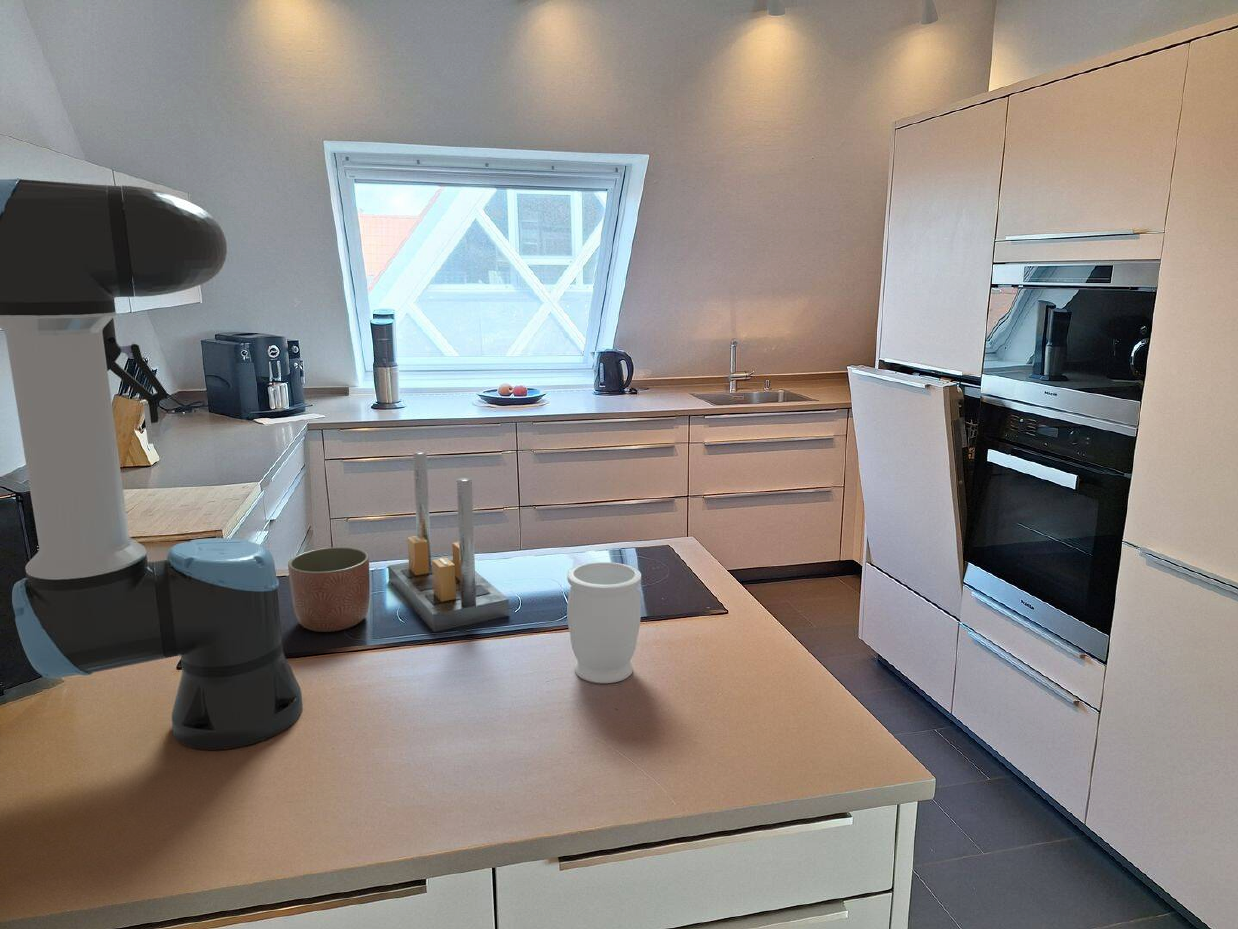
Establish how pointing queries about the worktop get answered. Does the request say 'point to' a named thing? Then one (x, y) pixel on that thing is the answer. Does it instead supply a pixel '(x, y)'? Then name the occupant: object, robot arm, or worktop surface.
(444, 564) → the slotted wooden block
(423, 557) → the tan wooden block
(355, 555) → the planter
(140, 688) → the worktop surface
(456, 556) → the tan upright block
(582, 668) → the jar
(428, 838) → the worktop surface
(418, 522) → the peg stand with blocks
